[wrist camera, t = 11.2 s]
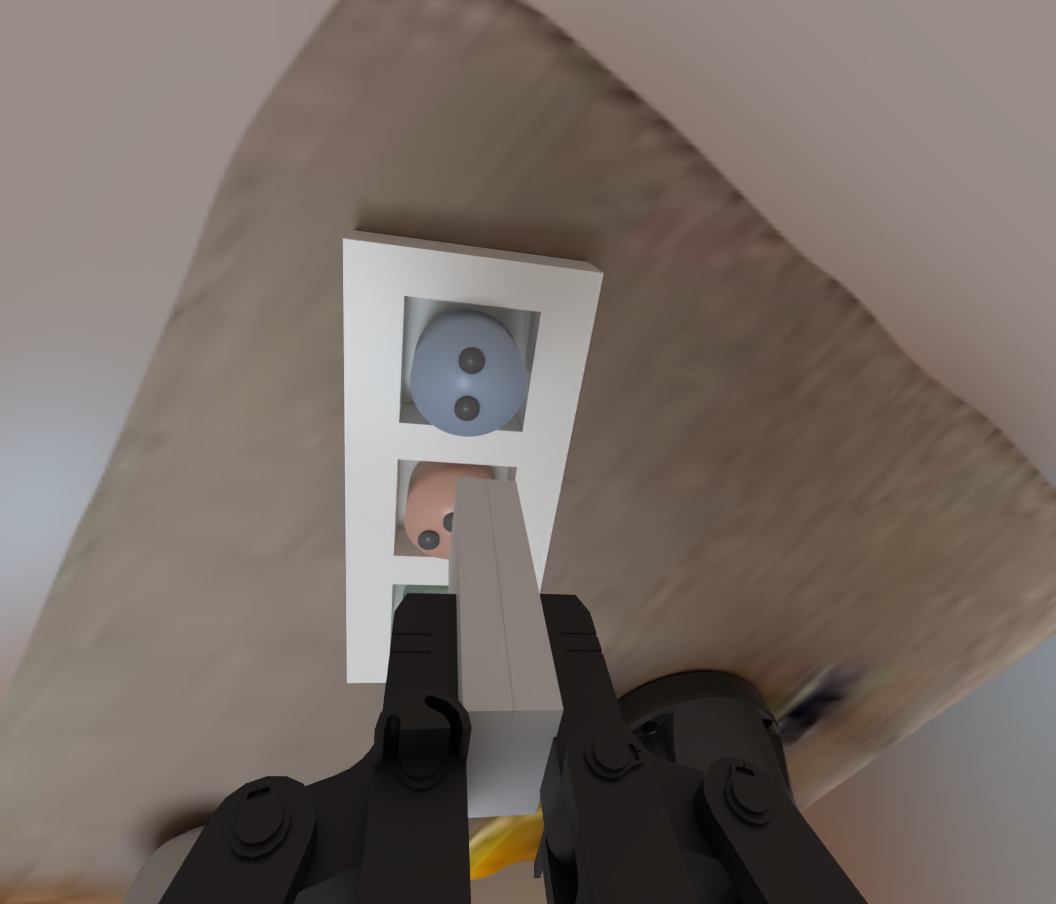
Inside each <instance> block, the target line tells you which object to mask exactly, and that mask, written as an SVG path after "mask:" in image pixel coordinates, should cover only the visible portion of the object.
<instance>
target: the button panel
mask: <svg viewBox="0 0 1056 904" xmlns="http://www.w3.org/2000/svg"><path fill="white" fill-rule="evenodd" d="M603 274H604V273H603V272H602V271H600V270H599V269H597V268H596V267H595V266H593V265H592V264H591V263H589V262H585V261H578V260H570V259H563V258H556V257H548V256H541V255H534V254H526V253H519V252H511V251H504V250H497V249H489V248H482V247H475V246H467V245H460V244H453V243H445V242H438V241H430V240H423V239H416V238H408V237H401V236H394V235H386V234H379V233H372V232H364V231H357V230H354V231H352V232H351V233H350V234H348V235H347V236H346V237H344V238H343V296H344V403H345V511H346V618H347V683H386V679H387V670H388V662H389V655H390V645H391V637H392V628H393V620H394V611H395V610H396V608H397V607H398V606H399V604H400V603H401V601H402V598H403V592H404V589H405V587H406V585H448V563H449V560H448V559H441V558H436V557H433V556H430V555H428V554H426V553H424V552H423V551H421V550H420V549H419V548H417V547H416V546H415V545H414V544H413V543H412V541H411V540H410V538H409V537H408V535H407V532H406V529H405V524H404V518H405V510H406V502H407V494H408V486H409V481H410V478H411V476H412V473H413V472H414V470H415V469H416V468H417V467H418V466H419V465H420V464H421V463H422V462H423V461H431V462H447V463H462V464H478V465H488V466H489V467H490V468H491V470H492V471H493V473H494V475H495V477H496V480H507V481H516V483H517V488H518V493H519V498H520V503H521V507H522V512H523V517H524V522H525V527H526V531H527V536H528V541H529V546H530V551H531V556H532V560H533V565H534V570H535V575H536V580H537V584H538V589H539V594H540V589H541V584H542V579H543V574H544V569H545V564H546V559H547V554H548V549H549V544H550V539H551V534H552V529H553V524H554V519H555V514H556V509H557V504H558V499H559V494H560V489H561V484H562V479H563V474H564V469H565V464H566V459H567V454H568V449H569V444H570V439H571V434H572V429H573V424H574V419H575V414H576V409H577V404H578V399H579V394H580V389H581V384H582V379H583V374H584V369H585V364H586V359H587V354H588V349H589V344H590V339H591V334H592V329H593V324H594V319H595V314H596V309H597V304H598V299H599V294H600V289H601V284H602V279H603ZM457 310H475V311H480V312H483V313H486V314H488V315H490V316H493V317H494V318H496V319H497V320H499V321H500V322H501V323H502V324H503V325H504V326H505V327H506V328H507V329H508V330H509V332H510V333H511V334H512V336H513V338H514V340H515V342H516V345H517V348H518V350H519V353H520V356H521V359H522V361H523V364H524V367H525V371H526V377H527V386H526V393H525V397H524V400H523V403H522V405H521V407H520V408H519V410H518V412H517V413H516V414H515V416H514V417H513V418H512V419H511V420H510V421H509V422H508V423H506V424H505V425H504V426H502V427H501V428H499V429H497V430H495V431H493V432H491V433H488V434H485V435H480V436H473V437H464V436H456V435H453V434H449V433H446V432H444V431H442V430H440V429H438V428H436V427H435V426H433V425H432V424H430V423H429V422H428V421H427V420H426V419H425V418H424V417H423V416H422V414H421V413H420V412H419V410H418V409H417V407H416V405H415V403H414V401H413V397H412V394H411V388H410V375H411V369H412V363H413V358H414V352H415V348H416V344H417V342H418V339H419V337H420V335H421V334H422V332H423V331H424V330H425V328H426V327H427V326H428V325H429V324H430V323H431V322H432V321H434V320H435V319H436V318H438V317H440V316H442V315H444V314H446V313H449V312H452V311H457Z"/></svg>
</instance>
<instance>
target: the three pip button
mask: <svg viewBox="0 0 1056 904" xmlns="http://www.w3.org/2000/svg"><path fill="white" fill-rule="evenodd" d="M457 478H473V479H490V480H496V477H495V475H494V473H493V471H492V470H491V468H490V467H489V466H488V465H478V464H462V463H447V462H431V461H423V462H422V463H421V464H420V465H419V466H418V467H417V468H416V469H415V470H414V472H413V473H412V476H411V478H410V481H409V486H408V494H407V502H406V510H405V518H404V524H405V529H406V532H407V535H408V537H409V538H410V540H411V541H412V543H413V544H414V545H415V546H416V547H417V548H419V549H420V550H421V551H423V552H424V553H426V554H428V555H430V556H433V557H436V558H441V559H448V560H449V553H450V543H451V533H452V523H453V512H454V502H455V492H456V482H457Z"/></svg>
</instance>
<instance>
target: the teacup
mask: <svg viewBox="0 0 1056 904" xmlns="http://www.w3.org/2000/svg"><path fill="white" fill-rule="evenodd" d="M204 827H205V825H204V826H200V827H197V828H194V829H192V830H189V831H187V832H186V833H184V834H181V835H179V836H177V837H175V838H173V839H171V840H169V841H167V842H166V843H165V844H163V845H162V846H160V847H159V848H158V849H157V850H156V851H155V852H154V853H153V854H152V855H151V856H150V857H149V858H148V859H147V860H146V862H145V863H144V865H143V866H142V868H141V869H140V871H139V872H138V874H137V876H136V877H135V879H134V881H133V883H132V885H131V887H130V889H129V891H128V893H127V895H126V897H125V899H124V901H123V903H122V904H158V903H159V902H160V900H161V898H162V897H163V895H164V893H165V892H166V890H167V888H168V887H169V885H170V883H171V882H172V880H173V878H174V877H175V875H176V873H177V872H178V870H179V868H180V867H181V865H182V863H183V862H184V860H185V858H186V857H187V855H188V853H189V852H190V850H191V848H192V847H193V845H194V843H195V842H196V840H197V838H198V837H199V835H200V833H201V832H202V830H203V828H204Z"/></svg>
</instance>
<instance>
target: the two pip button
mask: <svg viewBox="0 0 1056 904" xmlns="http://www.w3.org/2000/svg"><path fill="white" fill-rule="evenodd" d="M526 386H527V377H526V371H525V367H524V364H523V361H522V359H521V356H520V353H519V350H518V348H517V345H516V342H515V340H514V338H513V336H512V334H511V333H510V332H509V330H508V329H507V328H506V327H505V326H504V325H503V324H502V323H501V322H500V321H499V320H497V319H496V318H494V317H493V316H490V315H488V314H486V313H483V312H480V311H475V310H457V311H452V312H449V313H446V314H444V315H442V316H440V317H438V318H436V319H435V320H434V321H432V322H431V323H430V324H429V325H428V326H427V327H426V328H425V330H424V331H423V332H422V334H421V335H420V337H419V339H418V342H417V344H416V348H415V352H414V358H413V363H412V369H411V375H410V388H411V394H412V397H413V401H414V403H415V405H416V407H417V409H418V410H419V412H420V413H421V414H422V416H423V417H424V418H425V419H426V420H427V421H428V422H429V423H430V424H432V425H433V426H435V427H436V428H438V429H440V430H442V431H444V432H446V433H449V434H453V435H456V436H464V437H473V436H480V435H485V434H488V433H491V432H493V431H495V430H497V429H499V428H501V427H502V426H504V425H505V424H506V423H508V422H509V421H510V420H511V419H512V418H513V417H514V416H515V414H516V413H517V412H518V410H519V408H520V407H521V405H522V403H523V400H524V397H525V393H526Z"/></svg>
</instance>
